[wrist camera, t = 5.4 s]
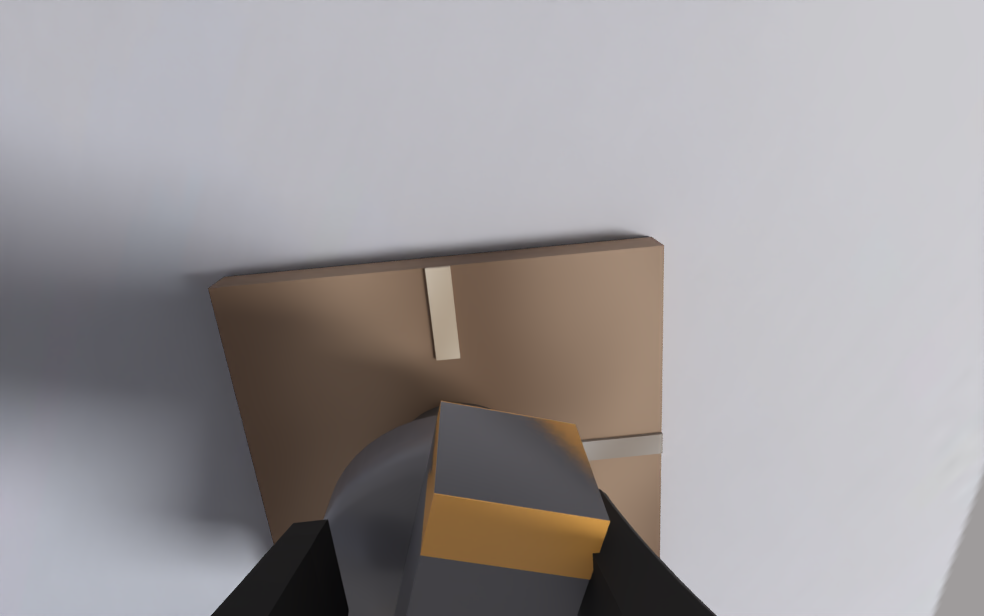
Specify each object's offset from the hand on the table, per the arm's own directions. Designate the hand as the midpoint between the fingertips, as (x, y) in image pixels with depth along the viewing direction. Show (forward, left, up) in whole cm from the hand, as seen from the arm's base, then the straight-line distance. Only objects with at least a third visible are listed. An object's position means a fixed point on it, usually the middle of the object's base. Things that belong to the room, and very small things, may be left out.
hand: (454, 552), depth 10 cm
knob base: (0, -2, -6) cm, 7 cm away
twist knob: (0, -2, -3) cm, 3 cm away
